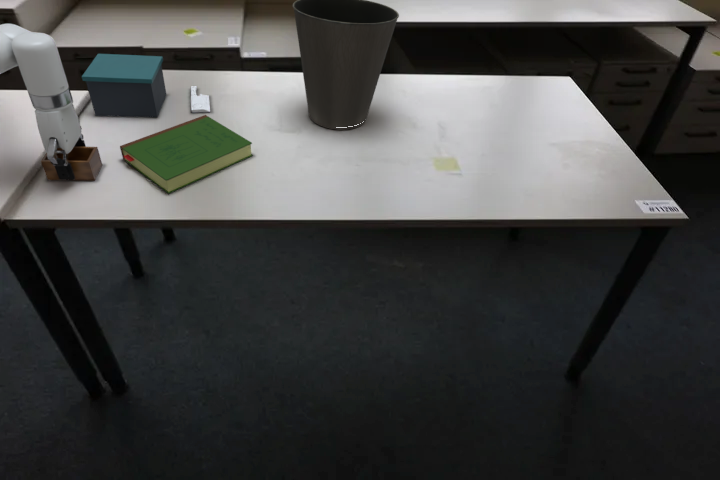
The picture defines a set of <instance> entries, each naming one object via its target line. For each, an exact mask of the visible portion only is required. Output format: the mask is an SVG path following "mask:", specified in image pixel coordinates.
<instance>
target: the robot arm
mask: <svg viewBox="0 0 720 480" xmlns="http://www.w3.org/2000/svg"><path fill="white" fill-rule="evenodd" d="M57 46H58V45H57V43H56V41H55V39H54V38H53V37H52V36H51V35H50V34H47V33H44V32H39V31H38V32H35V31H30V30H28V29H26V28H24V27H22V26H19V25H17V24H14V23H2V24H0V75H1V74H3V73H5V72H7V71H10V70H11V69H13V68H17V67H18V69H19V72H20V75H21V77H22V80H23V83H24V86H25V88H26V91H27V93H28V96H29V99H30V102H31V105H32V108H33V109H35V110H34V113H35V114H34V115H35V120H36V125H37V129H38V132H39V133H38V134H39V136H40V139H41V143H42V146H43V148H44V149H43V150H44V152H45V154H46V153H47V158H48V159H49V160H50V162H51V164H53V166H55V169H56V172H57V174H58V177H59V179H60V180H59V181H75V180H74V179H75V176H74V173H73V170H72V167H71V164H70V163H68V153H70V152H71V151H72V149H73V148H74V146H82V147H87V146H86V143H85V140H84V138H85V137H84V134H83V133H82V130H83V129H82V126H81V121H80V120H81V119H80V116H79V115H78V114H77V111H76V109H75V105H74V104H73V103H74V98H73V95H72V92H71V89H70V86H69V82H68V78H67V75H66V72H65V69H64V65H63V62H62V60H61V56H60V53H59V49H58V47H57ZM57 148H62V149H63V150H64V151H57ZM57 154H63V159H61V158H58V156H57Z"/></svg>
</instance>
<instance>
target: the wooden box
mask: <svg viewBox="0 0 720 480" xmlns="http://www.w3.org/2000/svg"><path fill="white" fill-rule="evenodd" d="M57 151H64V150H63V149H62V148H57ZM57 156H58V158H61V159H63V154H57ZM68 163H70V164H71V167H72V170H73V173H74V176H75V179H74V180H73V181H75V182H77V181H78V182H79V181H81V182H83V181H84V182H85V181H86V182H95V181H96V179H97V177H98V176H99V173H100V170H101V169H102V167H103V161H102V159H101V154H100V151H99V147H98V146H86V147H82V146H74V148H73V149H72V151H71V152H70V153H68ZM40 164H41V166H42V168H43V172H44V174H45V177H46V180H47V181H61V180H60V179H59V177H58V174H57V172H56V169H55V166H53V164H51V162H50V160H49V159H48V158H47V153H46V152H45V154H44V156H43V157H42V158H41V160H40Z"/></svg>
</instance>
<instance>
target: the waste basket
mask: <svg viewBox="0 0 720 480" xmlns="http://www.w3.org/2000/svg"><path fill="white" fill-rule="evenodd" d="M292 9H293V12H294V13H293V14H294V19H295V26H296V27H295V28H296V32H297V33H296V34H297V41H298V47H299V55H300V61H301V69H302V74H303V82H304V83H303V85H304V90H305V97H306V105H307V113H308V117H309V118H310V120H311V121H312V122H313V123H315V124H316V125H318V126H320V127H323V128H325V129H331V130H336V131H337V130H338V131H349V130H353V129H357V128H359V127H361V126H362V125H364V124H365V123H366V121H367V118H368V115H369V113H370V108H371V105H372V102H373V100H374V99H373V98H374V95H375V93H376V90H377V89H376V88H377V86H378V82H379V79H380V77H381V76H380V75H381V72H382V69H383V66H384V63H385V60H386V57H387V54H388V50H389V47H390V44H391V40H392V37H393V34H394V31H395V29H396V25H397V22H398V18H400V14H399V12H398V11H397V10H395V9H394V8H393V7H390V6H388V5H385V4H382V3H379V2H375V1H372V0H295V1H294V2H293V3H292ZM365 119H366V120H365ZM363 121H364V122H363ZM362 122H363V123H362ZM360 123H361V124H360ZM357 124H359V125H357ZM354 125H357V126H354ZM348 126H353V127H348ZM336 127H347V128H336Z"/></svg>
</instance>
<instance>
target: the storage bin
mask: <svg viewBox="0 0 720 480" xmlns="http://www.w3.org/2000/svg"><path fill="white" fill-rule="evenodd" d="M163 62H164V58H163V56H162V55H161V56H160V55H157V56H156V55H139V54H138V55H136V54H117V53H115V54H114V53H97V55H95V57H94V58H93V59H92V61H91V62H90V64H89V66H88V67H87V69H86V70H85V71H84V73H83V74H82V75H81V79H82V82H85V83H86V87H87V90H88V95H89V98H90V102H91V105H92V108H93V109H92V110H93V113H94V116H96V117H121V118H122V117H126V118H127V117H128V118H154V119H155V118H158V117H159V115H160V111H161V109H162V107H163V104H164V102H165V100H166V97H167V89H166V83H165V77H164V71H163V66H162V64H163Z"/></svg>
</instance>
